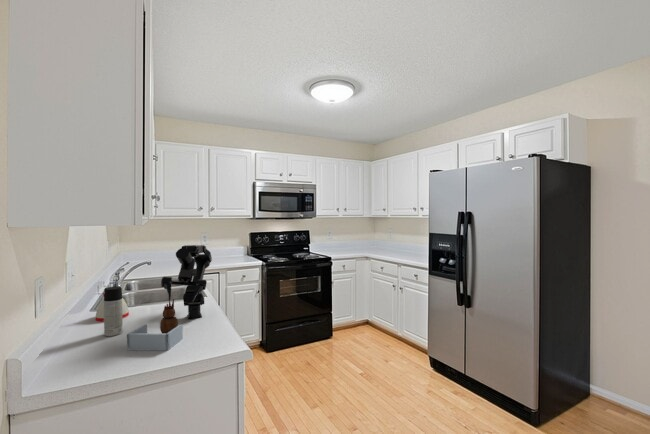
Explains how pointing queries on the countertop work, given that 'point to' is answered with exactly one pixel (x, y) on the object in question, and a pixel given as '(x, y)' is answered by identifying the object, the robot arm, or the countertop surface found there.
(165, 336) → the cubby
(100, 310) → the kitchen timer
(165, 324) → the wooden figurine
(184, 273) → the robot arm
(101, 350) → the countertop surface
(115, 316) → the spray can
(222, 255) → the countertop surface
